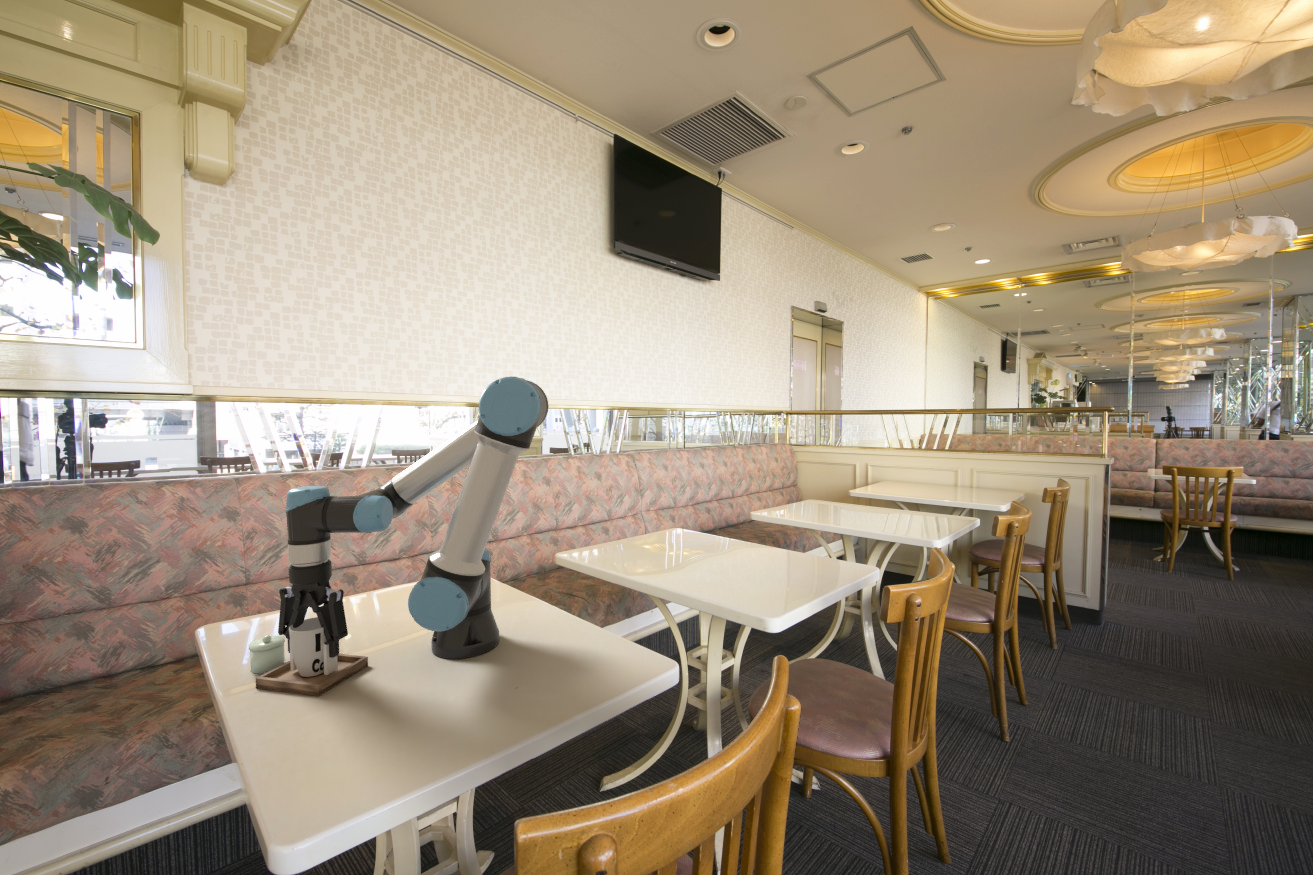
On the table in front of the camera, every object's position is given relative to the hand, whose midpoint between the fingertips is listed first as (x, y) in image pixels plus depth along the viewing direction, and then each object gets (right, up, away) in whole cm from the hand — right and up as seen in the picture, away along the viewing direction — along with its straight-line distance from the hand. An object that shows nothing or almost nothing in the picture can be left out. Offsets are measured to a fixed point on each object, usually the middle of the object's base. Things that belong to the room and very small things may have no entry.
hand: (314, 669), depth 113 cm
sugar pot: (-13, -1, +4) cm, 14 cm away
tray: (0, -1, 0) cm, 1 cm away
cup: (0, 0, 0) cm, 0 cm away
